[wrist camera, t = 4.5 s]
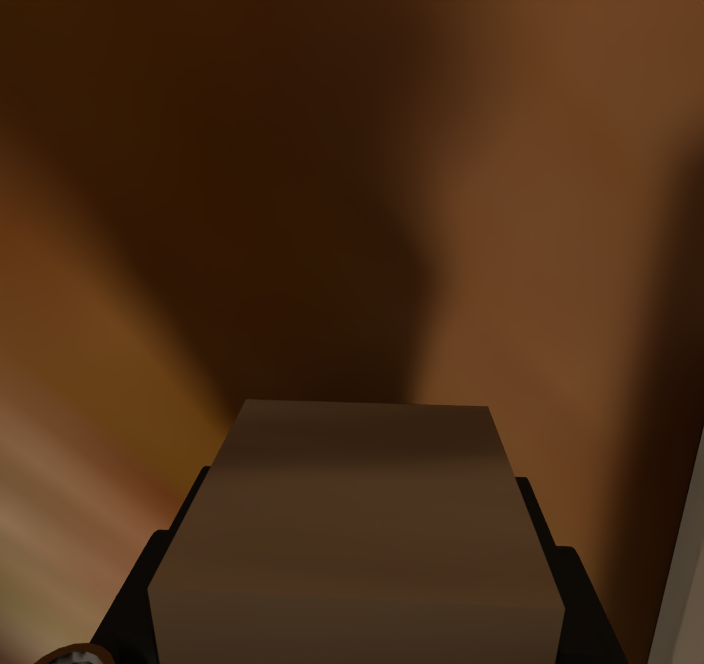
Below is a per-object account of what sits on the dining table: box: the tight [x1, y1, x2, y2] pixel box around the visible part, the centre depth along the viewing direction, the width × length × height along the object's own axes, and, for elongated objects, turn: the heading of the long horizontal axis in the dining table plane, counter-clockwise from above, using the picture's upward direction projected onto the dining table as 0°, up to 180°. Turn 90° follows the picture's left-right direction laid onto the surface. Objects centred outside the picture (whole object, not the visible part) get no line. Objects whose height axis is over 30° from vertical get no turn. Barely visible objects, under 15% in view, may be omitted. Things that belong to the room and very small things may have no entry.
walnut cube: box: [147, 399, 565, 664], centre depth 10 cm, size 5×5×5 cm
